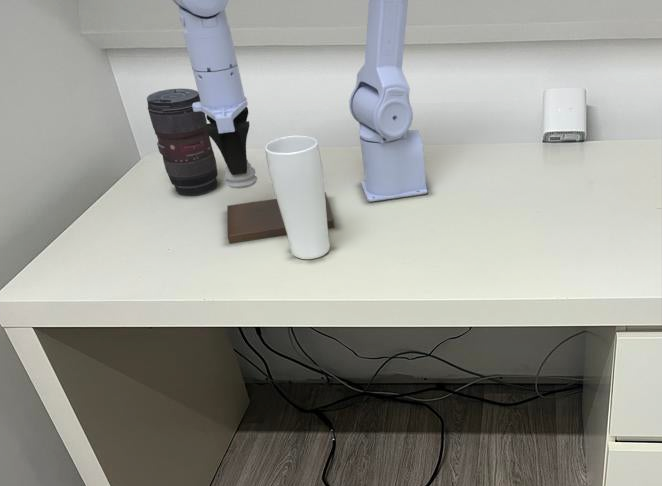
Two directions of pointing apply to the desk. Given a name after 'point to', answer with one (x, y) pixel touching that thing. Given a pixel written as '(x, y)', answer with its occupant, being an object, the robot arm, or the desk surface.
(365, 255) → the desk surface
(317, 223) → the drinking glass
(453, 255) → the desk surface
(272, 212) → the walnut board
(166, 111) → the camera lens
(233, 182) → the rook chess piece
